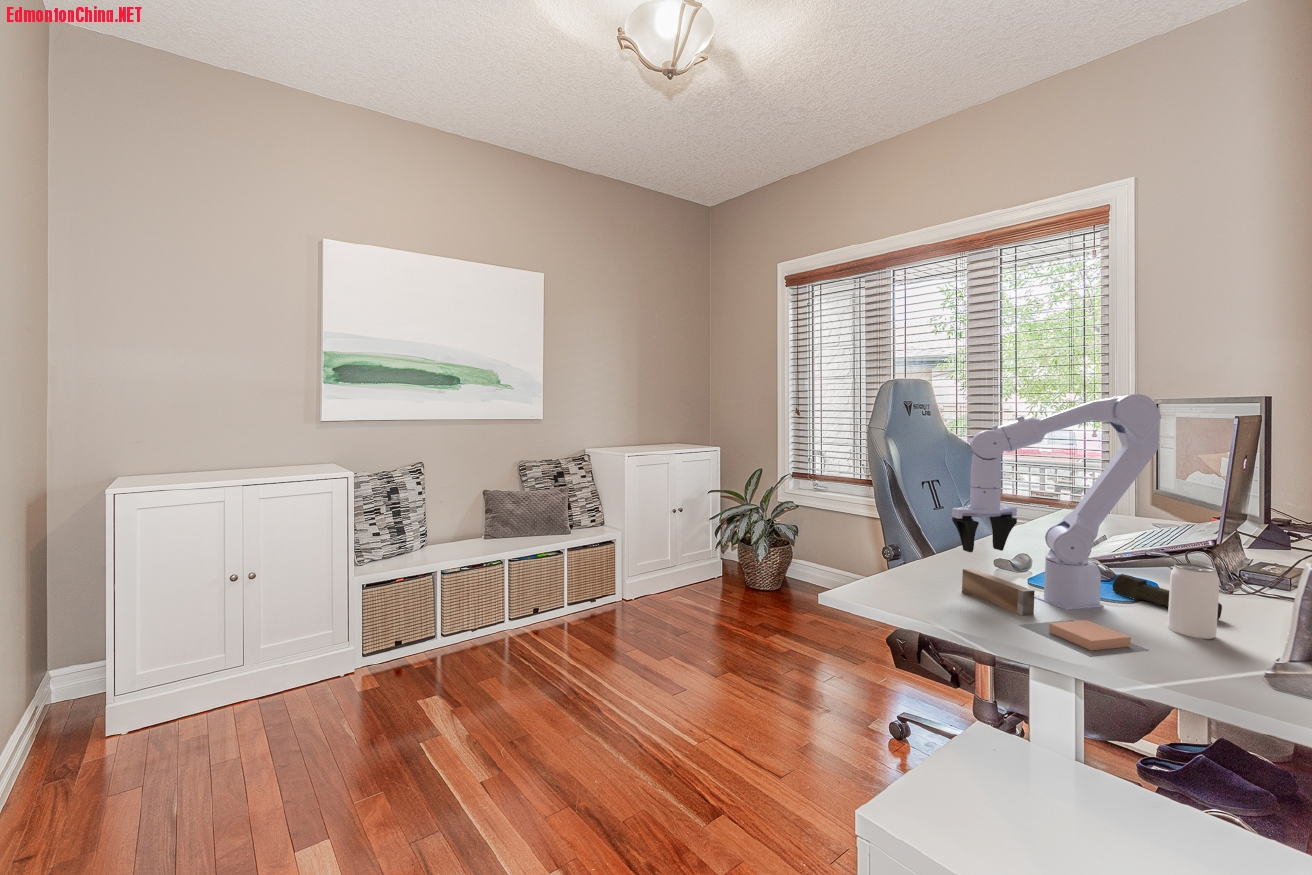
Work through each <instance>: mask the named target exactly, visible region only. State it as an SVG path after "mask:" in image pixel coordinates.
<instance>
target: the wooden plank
mask: <svg viewBox="0 0 1312 875" xmlns="http://www.w3.org/2000/svg"><path fill="white" fill-rule="evenodd" d="M961 584H962V586H961V592H962V594H963V593H964V594H966V595H968V596H975V597H977V598H980V599H982V600H985V601H986V602H988V603H991V604H994V605H996V606H999V607H1000V608H1003V609H1005V610H1008V611H1010V612H1013V613H1015V614H1016V615H1019V616H1021V617H1023V616H1034V613H1035V612H1034V611H1035V598H1034V596H1035V592H1036V591H1035V590H1034V589H1032V588H1027V587H1025V586H1022V585H1019V584H1018V583H1017V584H1016V583H1014V582H1011V581H1009V580H1006V579H1002V578H1000V577H997V576H994V575H992V574H989V573H986V572H983V571H980V570H979V569H975V568H963V569H962V580H961Z"/></svg>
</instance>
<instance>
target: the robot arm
mask: <svg viewBox="0 0 1312 875" xmlns="http://www.w3.org/2000/svg"><path fill="white" fill-rule="evenodd" d="M1015 419H1016V420H1013V421H1011V422H1008V423H1005V424H1002V425H999V426H998V425H997V424H994V425H992V426H991V429H992V430H982V431H979V432H977V433H976V434H975V435H973V436H972V439H971V442H970V443H969V446H970V449H971V451H972V452H973V453H972V456H971V462H972V463H971V466H970V484H969V486H970V487H969V490H970V491H969V492H970V493H969V504H967V506H961V507H952V508H951V510H952V511H951V517H952V519H951V520H952V522H953V524H954V526H955V528H956V531H957V532H958V535H959V538H960V543H961V546H962V551H964V552H967V553H973V552H974V547H975V538H976V533H977V529H978V526H979V524H980V522H979V521H977V520H974V518H987V517H988V518H989V521H990V525H991V530H992V531H991V532H992V548H993V550H997V551H1004V549H1005V546H1006V543H1007V541H1008V540H1007V539H1008V537H1009V535H1010V533H1011V531H1012V530H1013V528H1014V527H1015V526H1016V525H1017V521H1018V518H1017V516H1018V514H1017V512H1018V508H1017V507H1016V506H1011V505H1001V500H1002V499H1001V498H1002V497H1001V494H1002V472H1003V471H1002V470H1003V467H1002V455H1003V454H1004V452H1007V453H1010V452H1013V451H1017V450H1019V449H1023V448H1026V447H1030V446H1033V445H1036V444H1039V443H1041V442H1042V441H1043V440H1044V438H1045V436H1046V435H1047V434H1050V433H1053V432H1056V431H1059V430H1064V429H1067V428H1070V427H1074V426H1077V425H1081V424H1084V423H1088V422H1092V421H1093V422H1106V423H1107V422H1108V423H1109V425H1110V426H1112V427H1113V429H1114V430H1115V431H1116V434H1117V436H1118V438H1119V441H1120V443H1121V447H1120V448H1119V449H1118V451H1117V452H1116V453H1115V455H1114V456H1113V457H1112V459H1111V460H1110V461H1109V463H1108V464H1107V465H1106V467H1105V468H1104V469H1103V470H1102V471H1101V473H1100V475H1099V476H1098V477H1097V478H1096V480H1095V481H1094V483H1093V484H1092V485H1091V486H1090V488H1089V489H1088V490H1087V492H1086V493H1085V494H1084V496H1082V498H1081V500H1080V501H1078V504H1077V505H1076V506H1075V507H1074V509H1073V510H1072V511H1071V512H1069V513H1067V515H1065V516H1064V517H1063V518H1062V520H1060V522H1058V523H1057V524H1055V525H1052V526H1051V527H1049V528H1048V529H1047V531H1046V533H1045V535H1044V540H1045V544H1046V545H1047V547H1048V548H1049V549H1050V550H1049V551H1048V553H1047V554H1045V562H1044V584H1043V585H1044V586H1043V594H1040V595H1038V594H1036V595H1034V599H1037V600H1039V601H1041V602H1044V603H1047V604H1050V605H1053V606H1055V607H1058V608H1061V609H1063V610H1066V611H1067V610H1077V609H1078V610H1079V609H1080V610H1081V609H1091V608H1102V607H1103V608H1104V606H1105V605H1104V604H1102V603H1101V585H1102V573H1101V571H1100V568H1099V567H1098V565H1097V563H1094V562H1093V561H1092V560H1089V559H1088V558H1089V557H1090V556H1091V553H1092V547H1093V543H1094V541H1095V540H1096V539H1097V538H1098V535H1099V528H1100V526H1101V524H1102V523H1103V522H1104V521H1105V519H1106V518H1107V517H1108V515H1109V514H1110V513H1111V511H1112V510H1113V509H1114V507H1115V506H1117V504H1118V502H1119V501H1120V500H1121V498H1123V496H1124V495H1125V494H1126V492H1127V491H1128V489H1129V488H1130V487H1131V485H1132V484H1133V483H1134V481H1136V479H1137V478H1138V476H1139V475H1140V474H1141V473H1142V471H1143V470H1144V469H1145V467H1146V466H1147V465H1148V463H1150V461H1151V459H1152V458H1153V457H1154V456H1155V454H1157V451H1158V450H1159V439H1160V438H1159V432H1160V430H1159V429H1160V422H1161V420H1162V414H1161V412H1160V410H1159V408H1158V406H1157V404H1156V403H1155V401H1154V400H1153V399H1152V398H1151V397H1149V396H1147V395H1146V394H1142V393H1133V394H1118V395H1114V396H1112V397H1107V398H1101V399H1095V400H1091V401H1088V402H1085V403H1082V404H1079V405H1076V406H1073V407H1071V408H1068V409H1065V410H1063V411H1059V412H1057V413H1054V414H1051V415H1049V416H1046V417H1043V418H1037V417H1034V416H1030V415H1029V416H1026V417H1025V416H1024V415H1019V416H1017V417H1016V418H1015Z"/></svg>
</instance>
